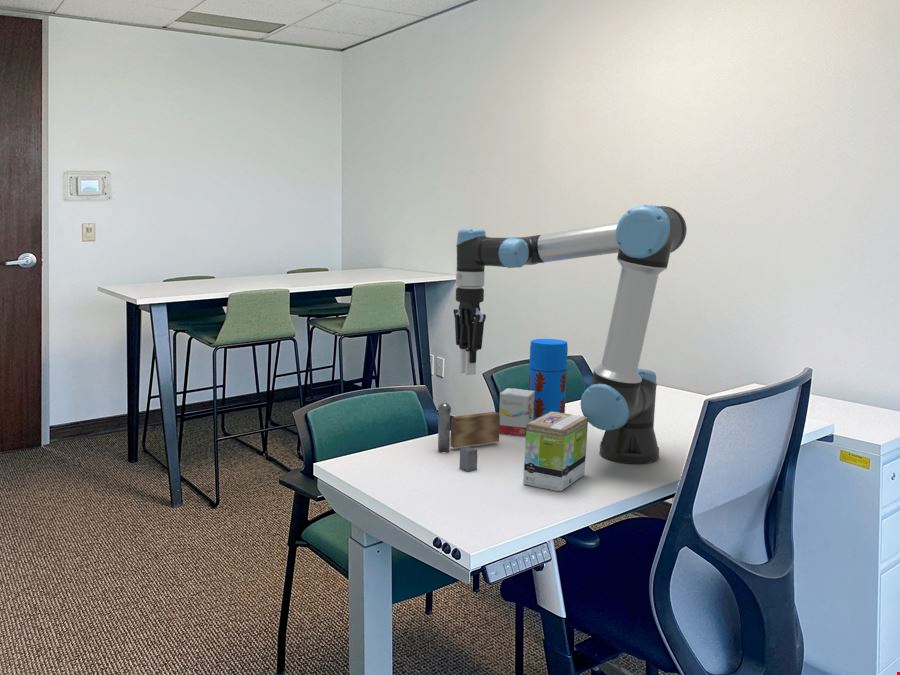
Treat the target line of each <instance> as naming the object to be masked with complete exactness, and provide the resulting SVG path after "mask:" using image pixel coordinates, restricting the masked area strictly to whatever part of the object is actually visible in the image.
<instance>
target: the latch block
mask: <svg viewBox="0 0 900 675" xmlns="http://www.w3.org/2000/svg"><path fill="white" fill-rule="evenodd" d="M478 450H479V449H477V448H474V447H473V446H464V447H460V448H459V469H460V470H462V471H465V472H467V473H468V472H471V471H475V470H478Z"/></svg>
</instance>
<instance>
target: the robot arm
mask: <svg viewBox="0 0 900 675" xmlns="http://www.w3.org/2000/svg"><path fill="white" fill-rule="evenodd" d="M687 230H688V229H687V222H686V220H685V218H684V217H683V215H682V214H681V212H679V211H678V210H677V209H675V208H672V207H670V206H665V205H652V204H651V205H649V204H643V205H639V206H636V207H632V208H630V209H629V210H627V211H626V212H625V213H623V215H622V216H621V217H620V219H619V220H618V222H614V223H608V224H601V225H593V226H588V227H581V228H575V229H570V230H569V229H568V230H563V231H556V232H551V233H550V232H549V233H544V234H538V235H536V234H535V235H529V236H521V237H517V236H516V237H515V236H514V237H488V236H487V234H486V230H485V229H482V228H481V229H480V228H461V229H459V230H458V231H457V237H456V238H457V239H456V240H457V241H456V245H455V246H456V274H455V278H456V279H455V280H456V281H455V282H456V283H455V284H456V286H457V287H456V288H455V301H456V302H458V303H459V305H458V308H455V309H453V316H454V328H455V329H454V330H455V332H454V333H455V345H456V346H458V347H459V349H460V353H459V354H460V361H459V362H460V366H459V368H460V369H459V370H460V371H459V373H460V374H465V376H472V375H476V370H477V366H476V365H477V364H476V363H477V352H478V351H479V350H482V348H483V339H484V338H483V337H484V326H485V321H486V318H487V314H485V313H484V314H483V313H482V312H481V306H480V305H481V304H480V303H483V302H484V300H485V299H484V298H485V297H484V296H485V289H484V288H483V287H484V286H485V268H486V267H502V268H507V269H514V268H519V269H520V268H522V267H524V266H532V265H537V264H542V263H543V264H544V263H549V262H557V261H558V262H559V261H564V260H572V259H579V258H580V259H581V258H587V257H597V256H602V255H603V256H604V255H610V254H617V257H616V260H617V262H618V264H619V265H620V266H621V271H620V275H619V280H618V285H617V289H616V293H615V298H614V299H615V300H614V304H613V308H612V314H611V318H610V322H609V327H608V330H607V331H608V332H607V336H606V340H605V346H604V352H603V356H602V361H601V363H600V364H598V365H597V366H596V367H594V368H593V372H592V376H591V382H590V386H588V387H587V388H586V389H585V390H584V392H583V393H582V395H581V398H580V408H581V412H582V416H584V417H588V424H590V425H591V426H592V427H594V428H596V429H598V430H600V431H604V433H603V436H602V439H601V442H600V444H599V455H600V456H601V457H602V458H604V459H607V460H610V461H614V462H617V463H618V462H619V463H624V464H632V465H633V464H636V465H637V464H638V465H639V464H641V465H642V464H648V463H654V462H656V461H658V460H659V458H660V457H659V456H660V448H659V446H658V441H657V437H656V433H655V429H654V427H655V426H654V425H655V423H654V422H655V411H656V397H657V396H656V395H657V387H658V383H657V374H656V373H655V372H654V371H653V370H650V369H649V370H648V369H645V368H644V369H643V368H639V365H640V360H641V355H642V351H643V347H644V341H645V338H646V332H647V329H648V325H649V324H648V323H649V319H650V315H651V311H652V305H653V303H654V302H653V301H654V296H655V293H656V292H655V291H656V288H657V282H658V279H659V275H660V274H661V273H662V272H664V271H666V270H667V268H668V264H669V260H670V255H671V253H673V252H675V251H676V250H678V249H679V248H680V247H681V246H682V245H683V243H684V242H685V239H686V236H687V233H688V232H687Z"/></svg>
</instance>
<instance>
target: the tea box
mask: <svg viewBox="0 0 900 675" xmlns="http://www.w3.org/2000/svg"><path fill="white" fill-rule="evenodd" d="M588 425H589V422H588V417H585V416H584V415H579V414H578V415H577V414H569V413H566V412H565V413H559V412H552V411H551V412H549V413H547V414H545V415H543V416H541V417H539V418H537V419H535V420H533V421H531V422H529V423H527V429H526V436H525V444H524V445H525V446H524V460H523V461H524V464H523V468H524V469H523V479H522V481H523V482H522V484H524V485H527V486H531V487H535V488H540V489H545V490H549V489H550V490H551V491H555V492H562V491H563V490H564V489H566V488H568V487H569V486H571V485H572V484H573V483H574V482H576V481H577V480H578V479H580V478H581V477H583V476H584V475H585V470H586V460H587V459H586V456H587V441H588ZM550 490H549V491H550Z"/></svg>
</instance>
